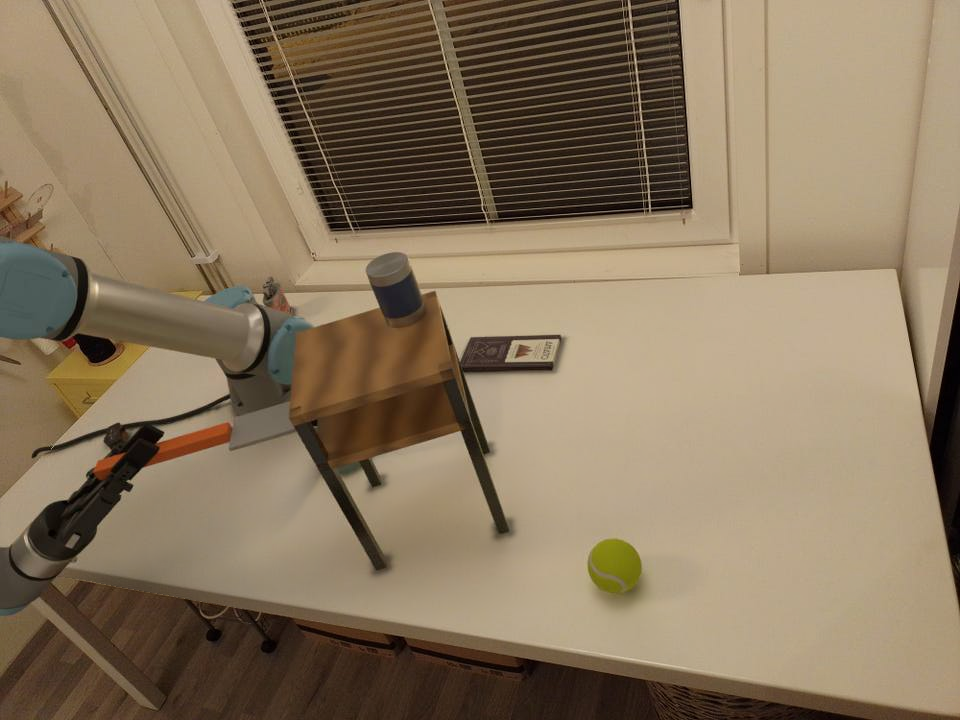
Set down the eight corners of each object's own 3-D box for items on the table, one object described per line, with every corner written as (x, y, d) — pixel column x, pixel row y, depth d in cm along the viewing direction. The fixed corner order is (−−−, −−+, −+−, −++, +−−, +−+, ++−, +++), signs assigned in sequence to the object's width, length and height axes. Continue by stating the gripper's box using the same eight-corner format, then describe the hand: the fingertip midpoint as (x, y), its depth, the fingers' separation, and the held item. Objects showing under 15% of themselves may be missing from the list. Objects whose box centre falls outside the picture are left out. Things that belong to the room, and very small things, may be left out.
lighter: (287, 327, 160) (269, 291, 154) (273, 330, 160) (254, 294, 154) (295, 307, 166) (277, 272, 160) (281, 310, 167) (263, 275, 161)
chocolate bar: (470, 337, 138) (560, 334, 131) (471, 341, 138) (561, 338, 132) (457, 367, 131) (551, 366, 125) (459, 371, 132) (552, 370, 125)
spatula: (95, 491, 89) (88, 483, 88) (108, 458, 94) (101, 450, 93) (297, 431, 89) (292, 422, 88) (300, 401, 94) (295, 392, 93)
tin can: (386, 332, 91) (365, 281, 86) (384, 309, 96) (364, 259, 91) (428, 320, 91) (410, 268, 86) (424, 297, 95) (406, 246, 91)
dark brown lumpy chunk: (128, 430, 144) (119, 419, 142) (129, 450, 138) (120, 439, 136) (106, 441, 143) (97, 429, 141) (106, 461, 137) (96, 450, 135)
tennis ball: (586, 599, 89) (577, 568, 85) (597, 555, 94) (590, 524, 90) (639, 609, 87) (632, 578, 83) (648, 563, 91) (643, 531, 87)
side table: (376, 570, 101) (288, 417, 82) (371, 480, 115) (296, 332, 97) (509, 531, 101) (451, 368, 82) (488, 445, 115) (435, 290, 96)
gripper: (98, 507, 105) (189, 412, 97) (65, 593, 93) (166, 493, 85) (47, 485, 101) (138, 385, 94) (7, 573, 89) (107, 465, 81)
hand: (151, 436), depth 89 cm, fingers closed on spatula, 2 cm apart
